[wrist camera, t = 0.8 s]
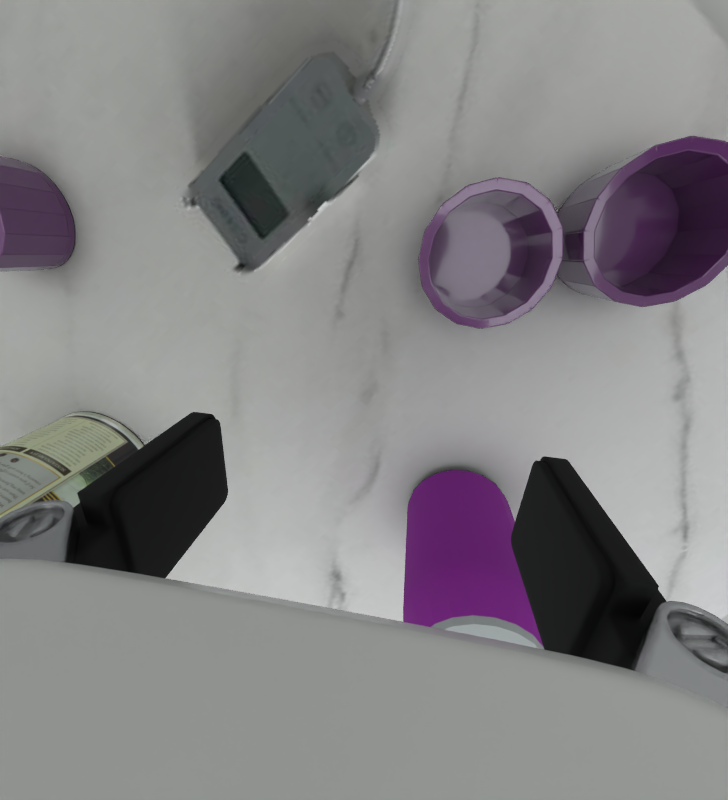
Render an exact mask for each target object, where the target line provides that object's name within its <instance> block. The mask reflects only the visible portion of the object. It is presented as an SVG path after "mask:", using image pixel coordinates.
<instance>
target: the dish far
mask: <svg viewBox="0 0 728 800" xmlns="http://www.w3.org/2000/svg"><path fill="white" fill-rule="evenodd" d="M74 243H75V228H74V222H73V218H72V215H71V212H70V209H69V207H68V205H67V203H66V201H65V199H64V197H63V195H62V194H61V192H60V191H59V189H58V188H57V187H56V185H55V184H54V183H53V182H52V181H51V180H50V179H49V178H48V177H47V176H46V175H45V174H44V173H42V172H41V171H40V170H38V169H37V168H35V167H33V166H32V165H30V164H27V163H25V162H21V161H19V160H15V159H11V158H6V157H2V156H0V272H7V271H31V270H44V269H52V268H56V267H59V266H61V265H62V264H64V263H65V262H66V261H67V260H68V258H69V257H70V255H71V253H72V251H73V248H74Z"/></svg>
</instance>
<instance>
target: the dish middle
mask: <svg viewBox="0 0 728 800" xmlns="http://www.w3.org/2000/svg"><path fill="white" fill-rule="evenodd" d="M562 257H563V228H562V224H561V222H560V220H559V218H558V215H557V213H556V211H555V209H554V207H553V205H552V202H551V201H550V200H549V199H548V198H547V197H546V196H544V195H543V194H542V193H540V192H539V191H538V190H536V189H535V188H534V187H533V186H531V185H530V184H529V183H526V182H522V181H517V180H511V179H505V178H500V177H499V178H493V179H489V180H485V181H481V182H478V183H474V184H470V185H468V186H466V187H464V188H463V189H462V190H460V191H459V192H458V193H456V194H455V195H454V196H452V197H451V198H450V199H448V200H447V201H446V202H444V203H443V204H442V205H441V206H440V208H439V209H438V211H437V213H436V214H435V216H434V217H433V219H432V220H431V222H430V223H429V225H428V227H427V228H426V230H425V232H424V235H423V240H422V244H421V248H420V253H419V257H418V264H419V270H420V277H421V284H422V287H423V290H424V291H425V293H426V295H427V296H428V298H429V300H430V301H431V303H432V305H433V306H434V308H435V309H436V310H437V311H438V312H440V313H441V314H443V315H444V316H446V317H447V318H448V319H450V320H451V321H453V322H454V323H456V324H460V325H465V326H470V327H475V328H488V327H493V326H499V325H505V324H507V323H510V322H512V321H513V320H515V319H517V318H518V317H520V316H522V315H524V314H525V313H527V312H529V311H530V310H532V309H533V308H534V307H535V306H536V305H537V303H538V302H539V301H540V300H541V299H542V298H543V296H544V295H545V294H546V293H547V292H548V291H549V289H550V288H551V286H552V285H553V283H554V280H555V277H556V275H557V272H558V270H559V267H560V264H561V262H562V259H563V258H562Z"/></svg>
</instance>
